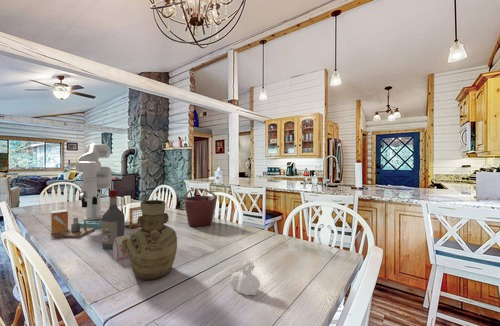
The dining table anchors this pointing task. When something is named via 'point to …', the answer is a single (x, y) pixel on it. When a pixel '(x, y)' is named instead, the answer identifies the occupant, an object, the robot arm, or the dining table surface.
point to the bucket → (200, 209)
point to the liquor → (112, 222)
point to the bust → (245, 279)
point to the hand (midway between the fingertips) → (89, 205)
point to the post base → (74, 235)
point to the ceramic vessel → (151, 242)
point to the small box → (59, 221)
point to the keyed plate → (91, 224)
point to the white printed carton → (119, 247)
